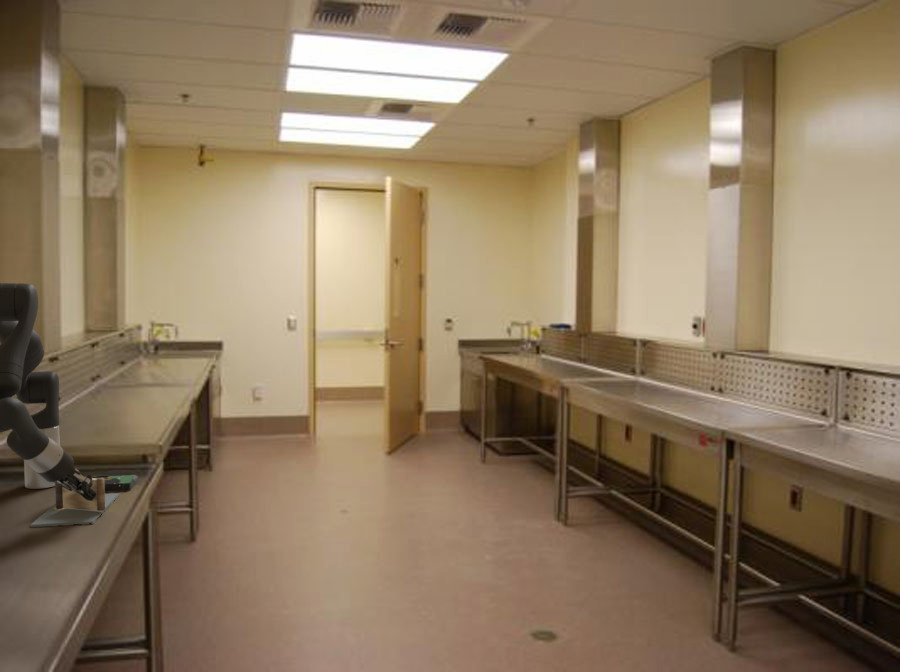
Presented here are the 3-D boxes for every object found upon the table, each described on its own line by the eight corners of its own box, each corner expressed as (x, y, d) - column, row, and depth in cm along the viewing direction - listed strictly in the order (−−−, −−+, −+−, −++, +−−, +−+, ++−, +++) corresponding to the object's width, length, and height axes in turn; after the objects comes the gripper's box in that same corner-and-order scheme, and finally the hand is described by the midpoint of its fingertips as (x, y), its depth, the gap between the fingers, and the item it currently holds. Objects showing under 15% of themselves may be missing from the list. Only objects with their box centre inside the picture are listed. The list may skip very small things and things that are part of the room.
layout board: (65, 497, 199) (64, 495, 199) (119, 495, 202) (119, 493, 202) (30, 527, 175) (30, 524, 175) (93, 523, 178) (92, 521, 178)
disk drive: (74, 495, 204) (131, 491, 207) (74, 485, 204) (130, 482, 207) (84, 485, 214) (138, 482, 217) (84, 476, 214) (138, 473, 217)
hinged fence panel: (62, 508, 187) (61, 476, 186) (67, 506, 189) (66, 474, 188) (101, 511, 184) (100, 479, 183) (106, 509, 186) (105, 478, 185)
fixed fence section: (68, 500, 197) (67, 465, 197) (75, 499, 198) (74, 465, 197) (55, 511, 187) (53, 475, 187) (62, 511, 187) (61, 474, 187)
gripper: (77, 447, 172) (120, 487, 184) (38, 443, 177) (82, 482, 189) (57, 474, 167) (102, 513, 179) (18, 469, 172) (64, 507, 184)
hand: (92, 497), depth 184 cm, fingers closed
